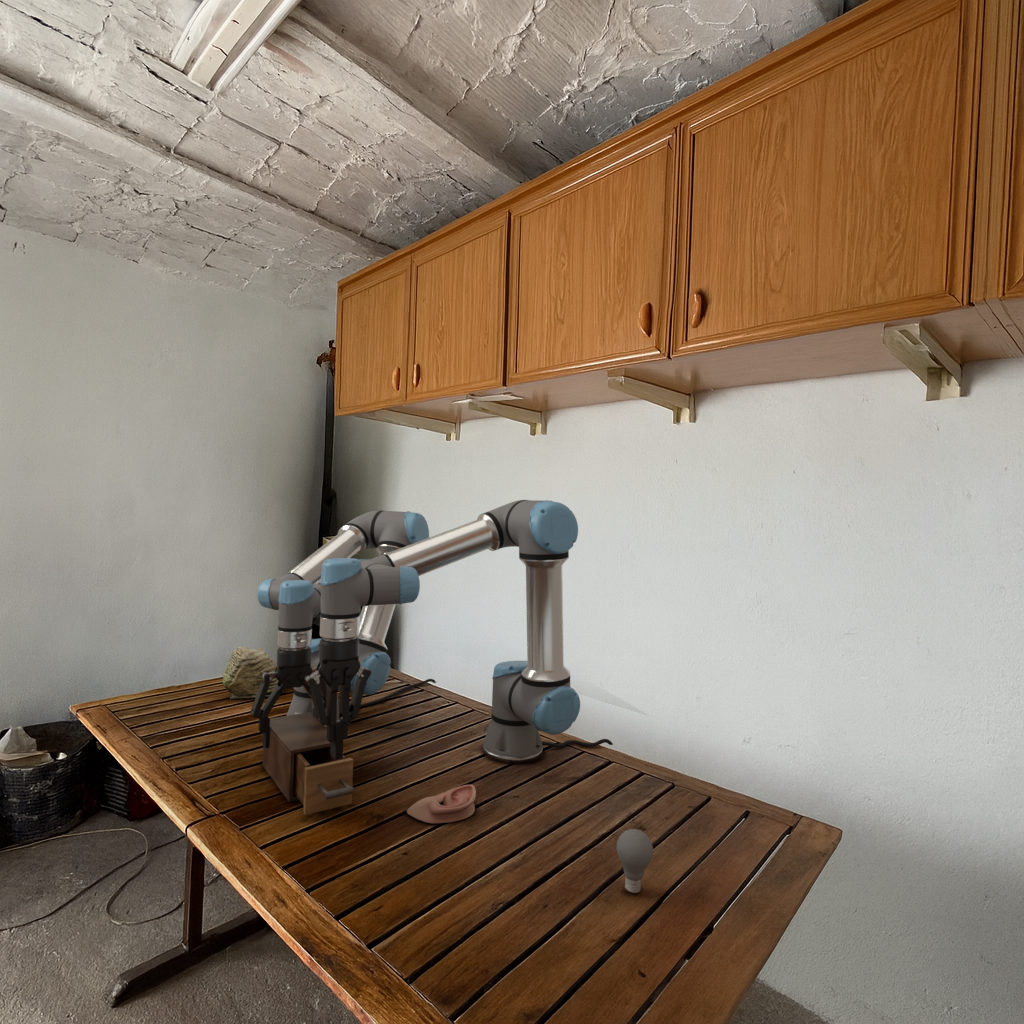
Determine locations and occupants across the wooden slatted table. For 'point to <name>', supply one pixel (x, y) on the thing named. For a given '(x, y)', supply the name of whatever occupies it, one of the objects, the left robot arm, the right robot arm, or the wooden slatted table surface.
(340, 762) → the drawer
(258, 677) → the fossil
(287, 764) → the cabinet
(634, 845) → the light bulb
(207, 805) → the wooden slatted table surface
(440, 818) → the anatomical model
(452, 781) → the wooden slatted table surface
